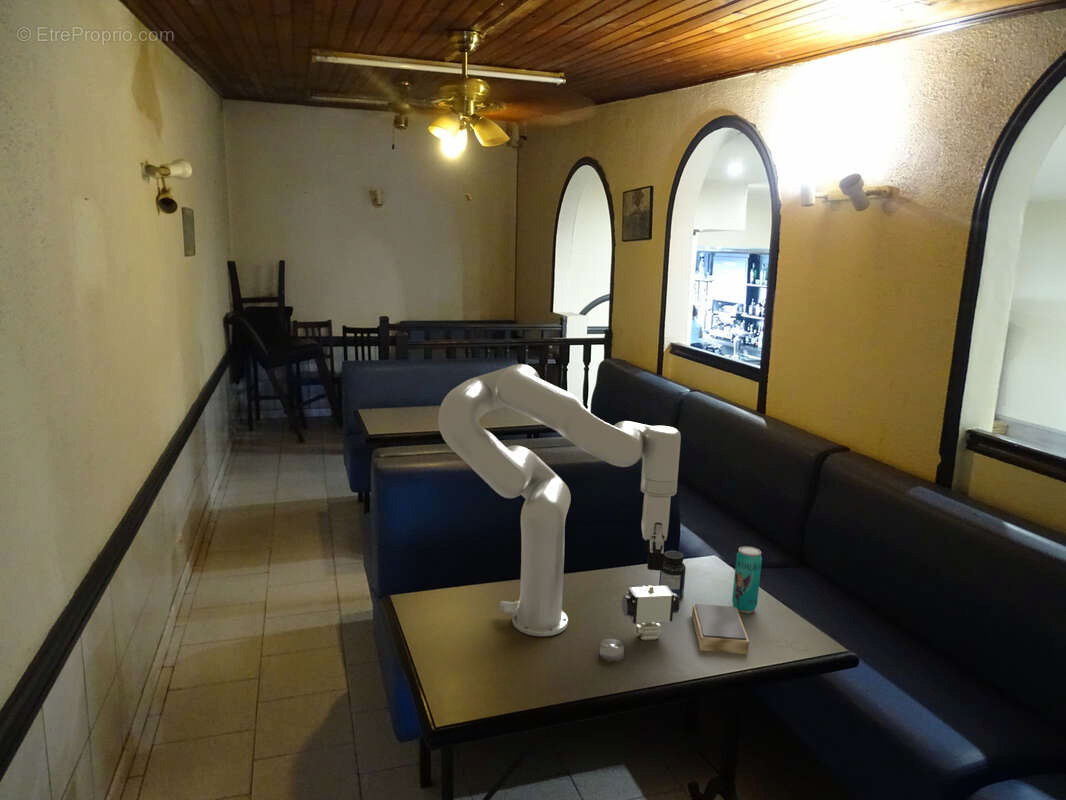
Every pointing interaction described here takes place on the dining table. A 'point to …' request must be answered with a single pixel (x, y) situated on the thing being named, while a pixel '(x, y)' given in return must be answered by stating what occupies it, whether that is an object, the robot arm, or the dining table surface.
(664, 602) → the pneumatic valve
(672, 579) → the pill bottle
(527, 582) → the robot arm
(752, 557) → the beverage can
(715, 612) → the framed panel
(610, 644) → the steel spacer
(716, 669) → the dining table surface
